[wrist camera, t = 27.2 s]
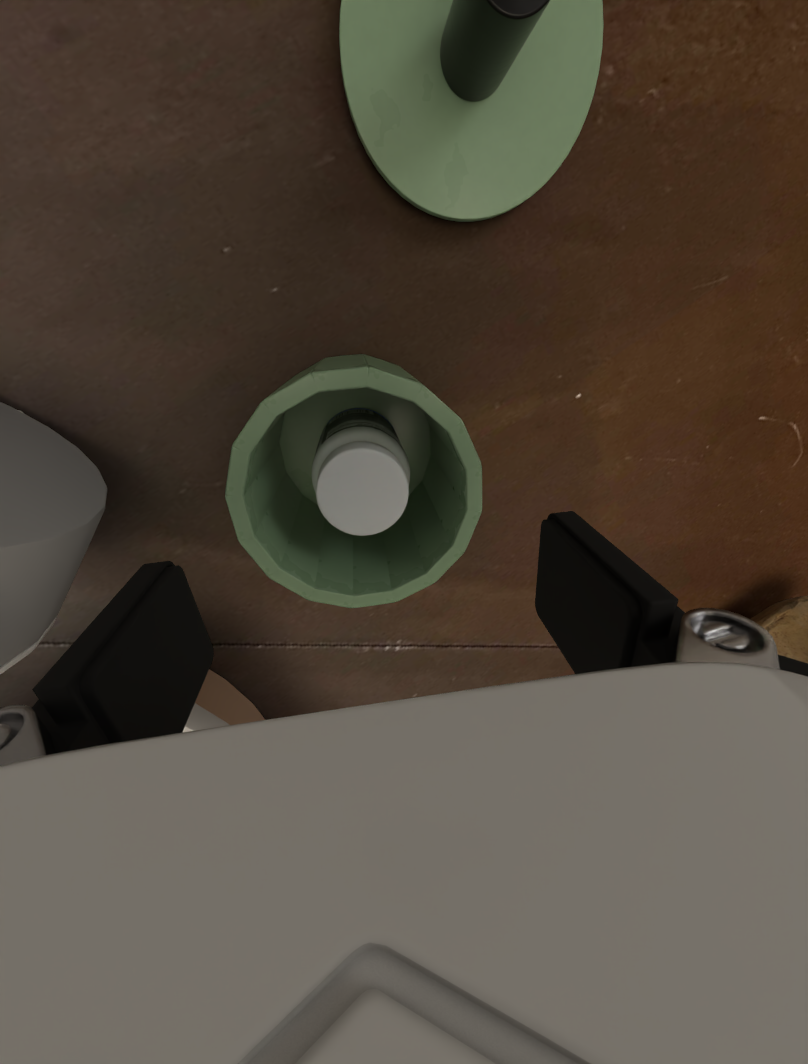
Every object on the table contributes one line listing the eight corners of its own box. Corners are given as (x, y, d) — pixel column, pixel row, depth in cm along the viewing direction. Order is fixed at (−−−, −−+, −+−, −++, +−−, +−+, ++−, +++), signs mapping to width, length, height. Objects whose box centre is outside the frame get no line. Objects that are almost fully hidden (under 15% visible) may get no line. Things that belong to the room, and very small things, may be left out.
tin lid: (359, 234, 21) (361, 195, 15) (318, -132, 16) (296, -414, 10) (576, 215, 21) (662, 172, 15) (606, -141, 16) (750, -409, 10)
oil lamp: (822, 572, 34) (944, 636, 27) (747, 701, 41) (831, 779, 34) (704, 575, 33) (800, 642, 26) (646, 707, 40) (711, 789, 32)
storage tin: (290, 531, 27) (262, 621, 19) (250, 364, 23) (190, 384, 14) (443, 512, 28) (482, 591, 20) (435, 346, 23) (482, 354, 15)
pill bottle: (376, 495, 26) (385, 560, 19) (307, 462, 25) (288, 519, 17) (412, 429, 25) (438, 471, 17) (340, 390, 23) (335, 419, 16)
